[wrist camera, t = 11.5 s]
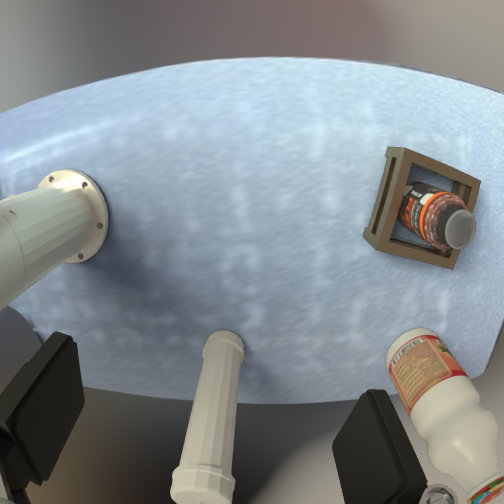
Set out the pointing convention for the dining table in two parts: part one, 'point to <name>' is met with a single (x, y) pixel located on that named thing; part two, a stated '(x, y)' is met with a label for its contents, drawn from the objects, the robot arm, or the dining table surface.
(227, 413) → the pipe
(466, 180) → the collar stand
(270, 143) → the dining table surface
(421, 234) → the supplement bottle
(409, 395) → the fruit juice
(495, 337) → the dining table surface
